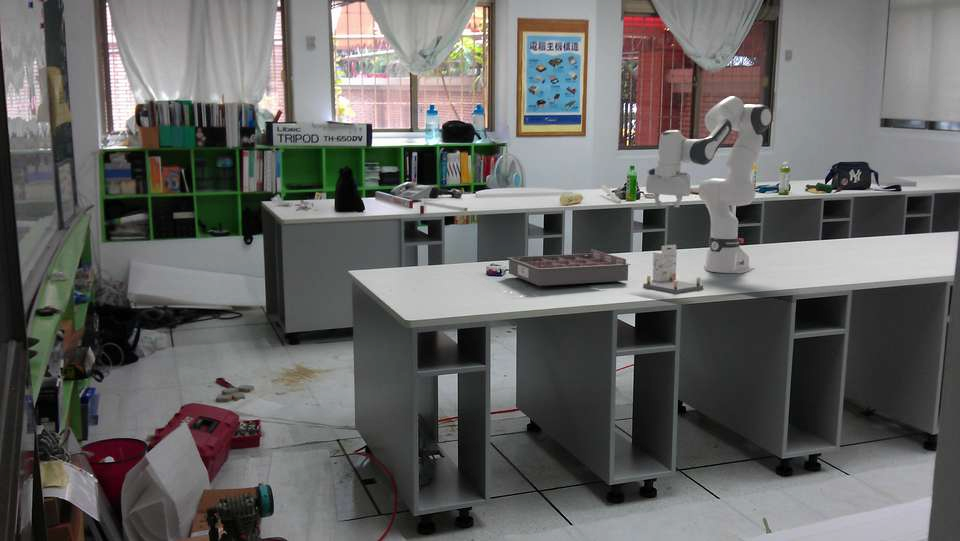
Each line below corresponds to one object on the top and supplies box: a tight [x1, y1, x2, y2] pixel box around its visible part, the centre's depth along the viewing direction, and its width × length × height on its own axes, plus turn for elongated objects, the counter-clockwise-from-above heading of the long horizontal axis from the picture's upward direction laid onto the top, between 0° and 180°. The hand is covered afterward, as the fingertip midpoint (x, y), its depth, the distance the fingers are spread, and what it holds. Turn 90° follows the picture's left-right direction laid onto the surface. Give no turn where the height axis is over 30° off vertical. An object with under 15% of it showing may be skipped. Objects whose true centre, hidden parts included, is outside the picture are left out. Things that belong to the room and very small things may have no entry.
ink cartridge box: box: [652, 244, 678, 282], centre depth 359 cm, size 9×5×15 cm, turn 123°
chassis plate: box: [642, 273, 704, 295], centre depth 342 cm, size 16×16×4 cm
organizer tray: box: [506, 249, 631, 287], centre depth 359 cm, size 32×40×10 cm
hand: (667, 206), depth 355 cm, fingers open, 8 cm apart
